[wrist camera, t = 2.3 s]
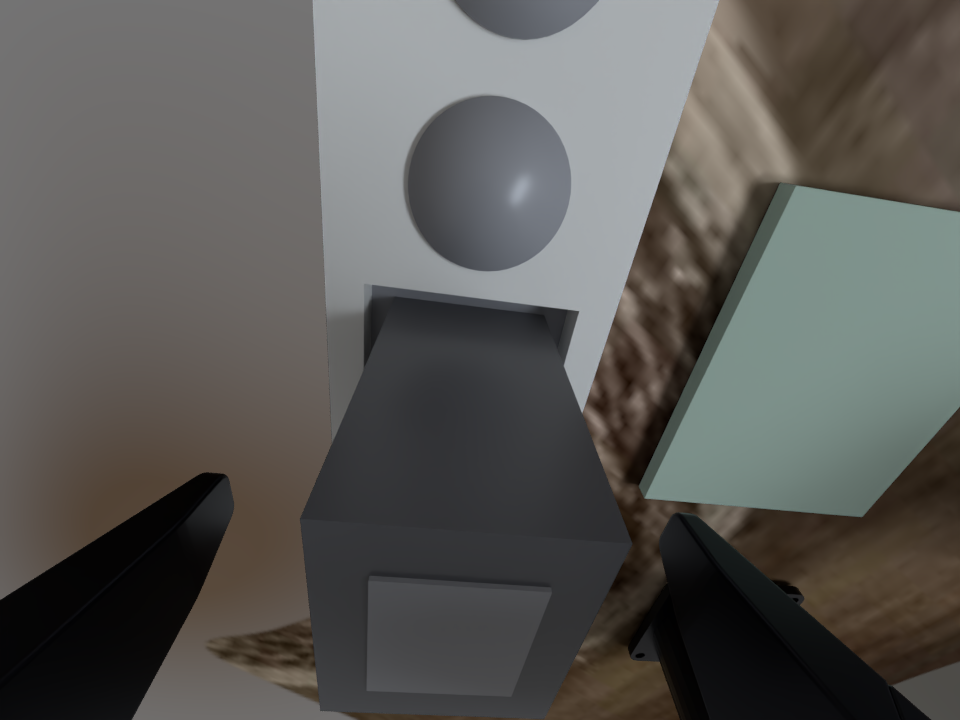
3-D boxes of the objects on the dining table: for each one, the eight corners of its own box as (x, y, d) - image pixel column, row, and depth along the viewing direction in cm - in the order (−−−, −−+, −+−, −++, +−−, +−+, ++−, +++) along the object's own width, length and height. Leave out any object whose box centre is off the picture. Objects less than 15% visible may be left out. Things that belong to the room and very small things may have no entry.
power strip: (530, 504, 16) (539, 565, 14) (350, 489, 16) (330, 550, 14) (783, -359, 7) (945, -607, 4) (335, -490, 6) (252, -859, 4)
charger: (510, 453, 14) (544, 723, 8) (388, 441, 13) (318, 716, 7) (544, 315, 11) (634, 548, 5) (394, 296, 11) (298, 524, 5)
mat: (849, 505, 17) (861, 517, 16) (638, 485, 16) (644, 498, 16) (1080, 231, 11) (1110, 236, 11) (780, 182, 11) (796, 185, 10)
